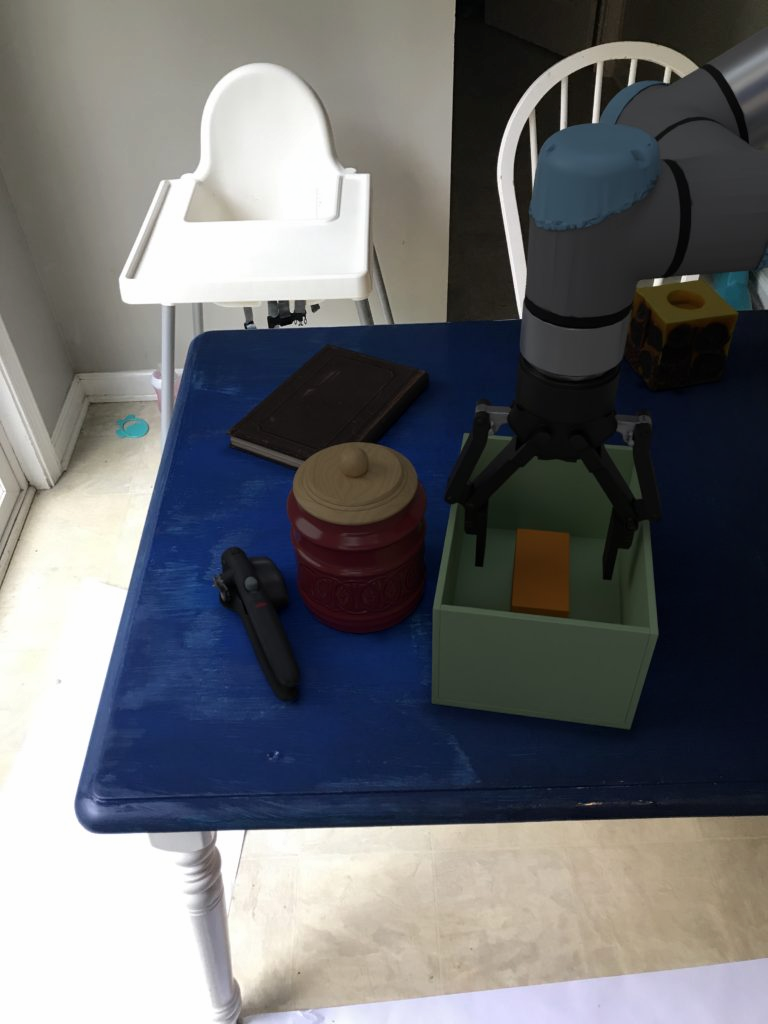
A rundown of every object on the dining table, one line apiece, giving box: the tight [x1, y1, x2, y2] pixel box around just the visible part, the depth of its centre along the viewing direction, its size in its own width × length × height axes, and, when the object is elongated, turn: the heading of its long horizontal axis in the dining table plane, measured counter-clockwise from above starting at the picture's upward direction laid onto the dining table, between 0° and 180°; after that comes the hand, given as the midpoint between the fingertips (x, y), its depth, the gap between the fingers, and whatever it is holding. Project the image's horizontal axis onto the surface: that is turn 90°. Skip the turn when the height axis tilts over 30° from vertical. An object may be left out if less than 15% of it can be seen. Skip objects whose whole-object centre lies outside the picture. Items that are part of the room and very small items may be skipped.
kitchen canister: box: [285, 442, 428, 634], centre depth 79 cm, size 13×13×18 cm
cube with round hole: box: [623, 279, 740, 392], centre depth 109 cm, size 10×10×10 cm
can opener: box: [212, 546, 302, 703], centre depth 78 cm, size 18×7×6 cm, turn 21°
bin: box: [431, 432, 660, 730], centre depth 77 cm, size 17×23×13 cm
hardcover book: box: [225, 343, 430, 471], centre depth 106 cm, size 16×23×2 cm
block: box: [510, 529, 570, 619], centre depth 78 cm, size 5×10×6 cm, turn 171°
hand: (542, 562), depth 76 cm, fingers open, 11 cm apart
